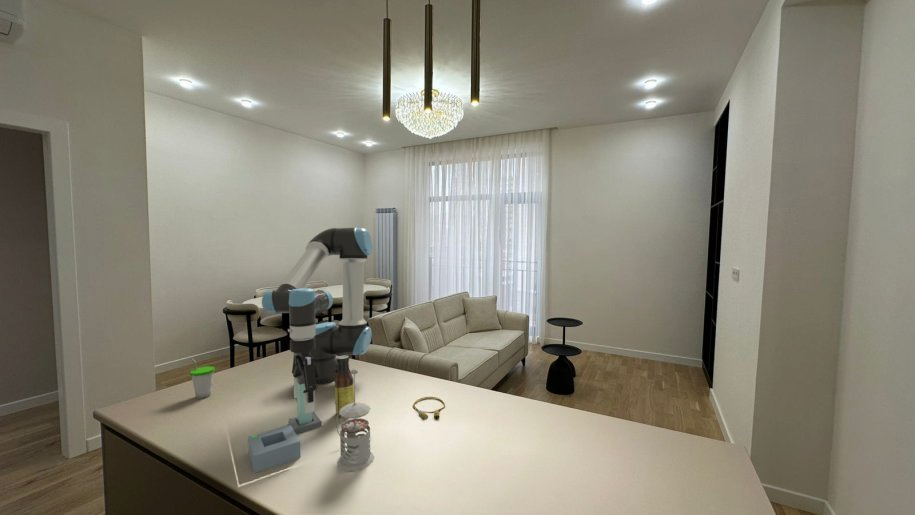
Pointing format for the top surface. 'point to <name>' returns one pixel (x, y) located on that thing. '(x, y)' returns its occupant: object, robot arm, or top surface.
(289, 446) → the port
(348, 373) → the sauce bottle
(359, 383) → the top surface
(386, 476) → the top surface
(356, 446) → the french press
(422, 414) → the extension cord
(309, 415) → the plug
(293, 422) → the holster
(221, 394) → the top surface
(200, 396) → the cup
